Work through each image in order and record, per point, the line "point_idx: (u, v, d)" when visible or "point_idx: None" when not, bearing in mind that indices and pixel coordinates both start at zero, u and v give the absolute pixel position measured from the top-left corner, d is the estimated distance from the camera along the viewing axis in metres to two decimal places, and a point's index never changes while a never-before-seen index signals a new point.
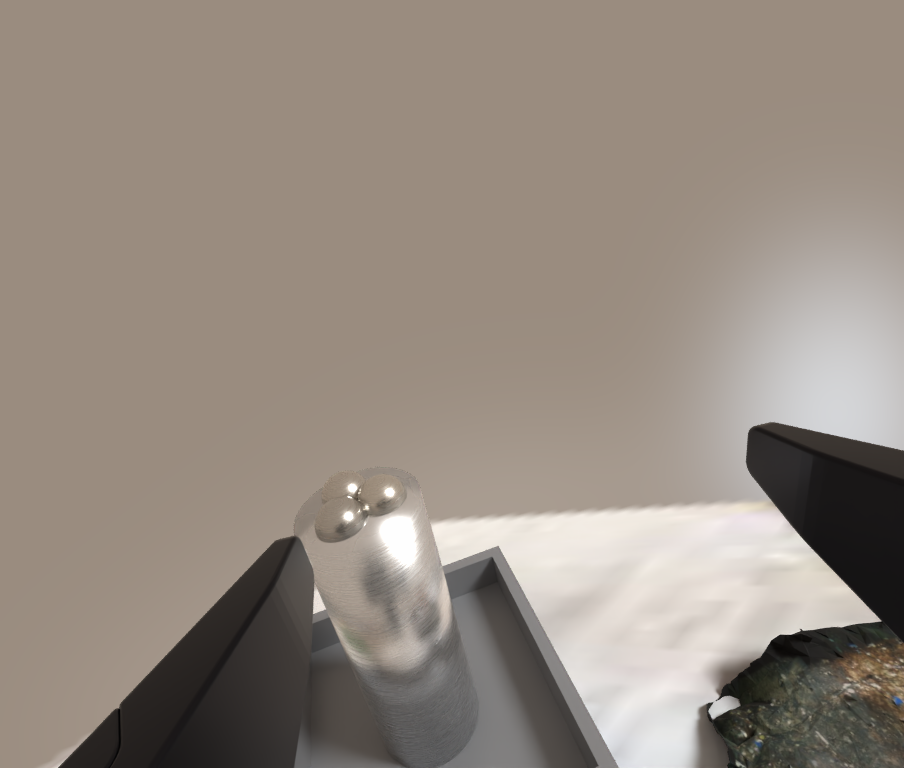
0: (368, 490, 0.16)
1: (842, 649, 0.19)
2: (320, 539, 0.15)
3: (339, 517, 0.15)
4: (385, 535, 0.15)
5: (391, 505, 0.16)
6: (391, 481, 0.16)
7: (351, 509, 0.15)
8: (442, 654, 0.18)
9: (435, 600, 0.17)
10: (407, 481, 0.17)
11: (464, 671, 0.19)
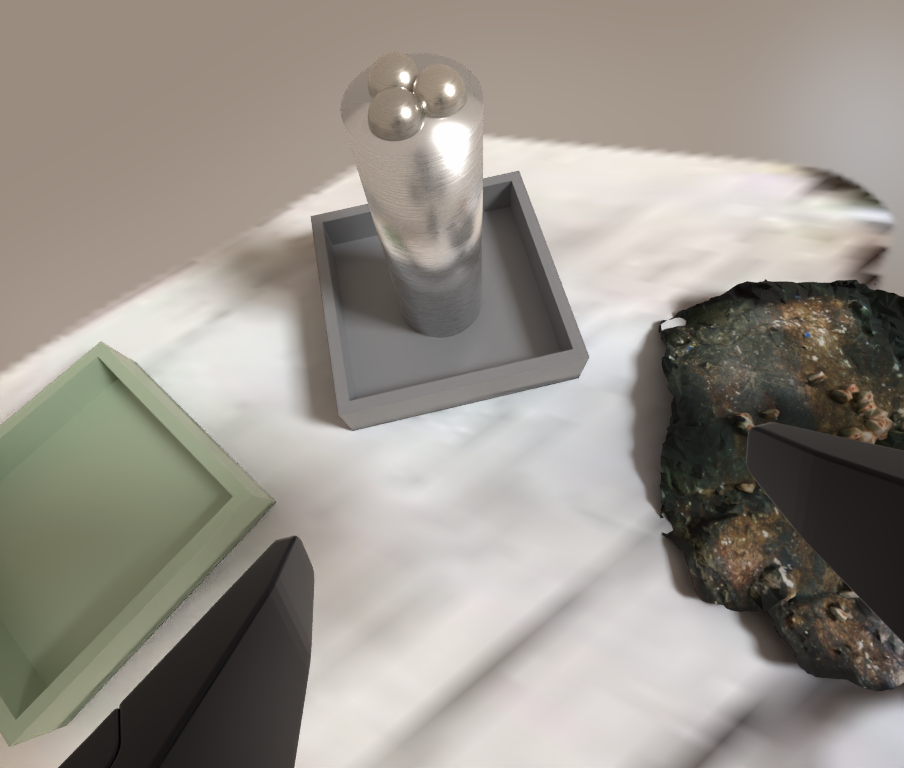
0: (428, 84, 0.14)
1: (788, 298, 0.23)
2: (375, 135, 0.14)
3: (398, 112, 0.14)
4: (447, 142, 0.14)
5: (452, 107, 0.14)
6: (454, 76, 0.14)
7: (410, 105, 0.14)
8: (469, 260, 0.20)
9: (474, 214, 0.18)
10: (466, 79, 0.15)
11: (480, 276, 0.23)
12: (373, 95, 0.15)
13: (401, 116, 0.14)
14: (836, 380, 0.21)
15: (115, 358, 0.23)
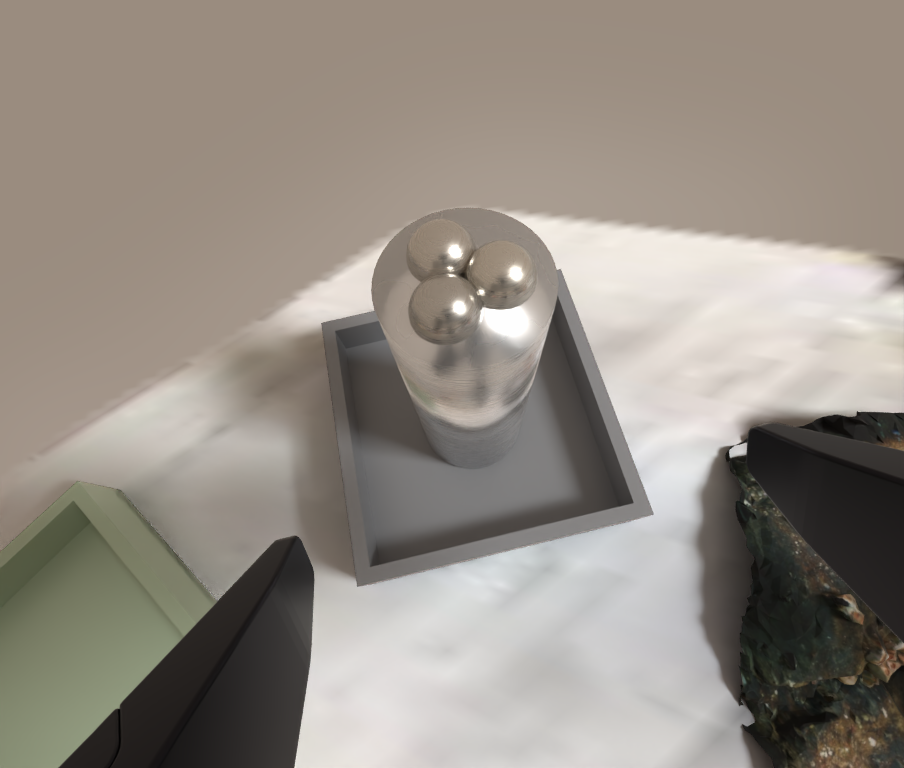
0: (490, 272, 0.11)
1: (885, 435, 0.20)
2: (419, 334, 0.11)
3: (451, 315, 0.10)
4: (514, 348, 0.11)
5: (520, 298, 0.11)
6: (524, 261, 0.11)
7: (468, 304, 0.10)
8: (517, 416, 0.17)
9: (530, 383, 0.14)
10: (534, 249, 0.12)
11: None
12: (414, 273, 0.11)
13: (455, 320, 0.10)
14: None
15: (94, 503, 0.20)
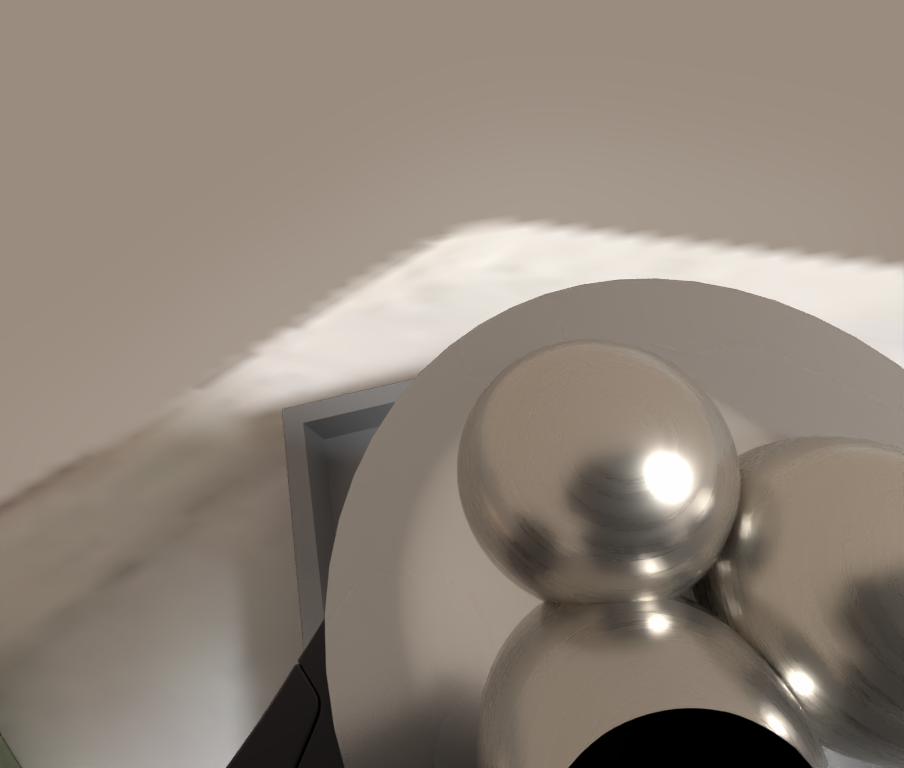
0: None
1: None
2: None
3: None
4: None
5: None
6: None
7: None
8: None
9: None
10: None
11: None
12: (492, 559, 0.03)
13: None
14: None
15: None
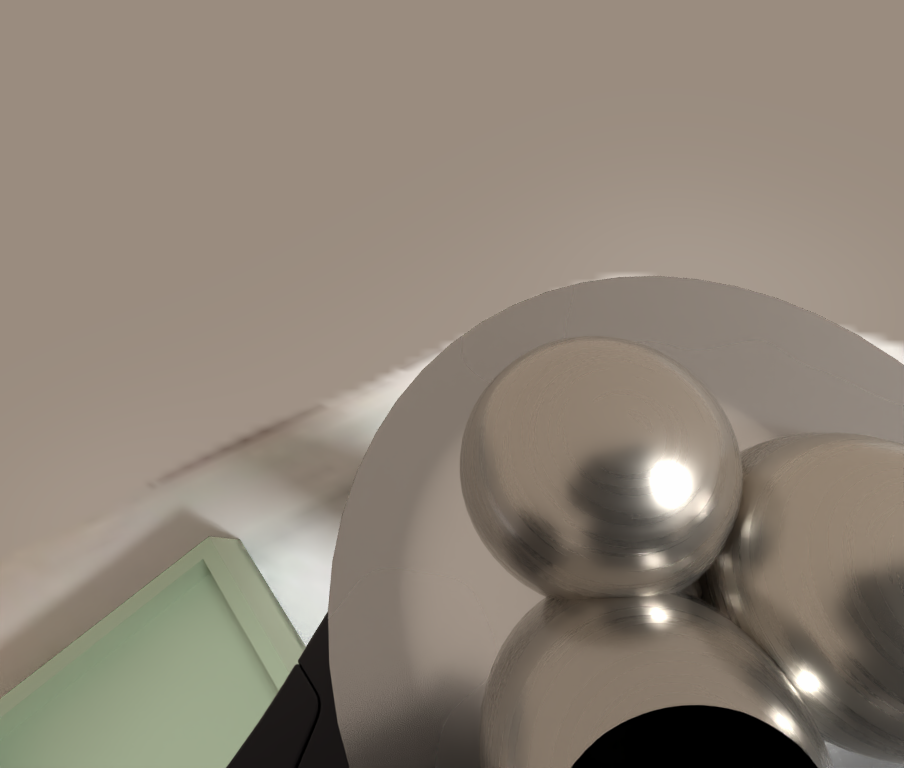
0: None
1: None
2: None
3: None
4: None
5: None
6: None
7: None
8: None
9: None
10: None
11: None
12: (495, 554, 0.03)
13: None
14: None
15: (224, 567, 0.18)
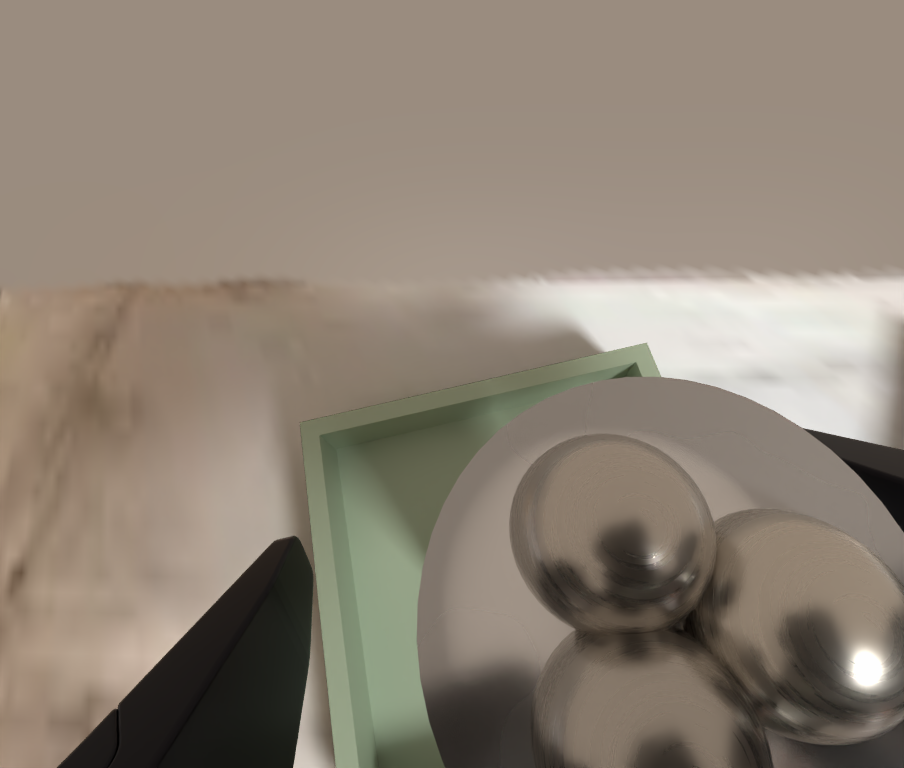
0: (821, 683, 0.03)
1: None
2: None
3: None
4: None
5: None
6: None
7: None
8: None
9: None
10: (855, 518, 0.04)
11: None
12: (539, 599, 0.04)
13: None
14: None
15: None
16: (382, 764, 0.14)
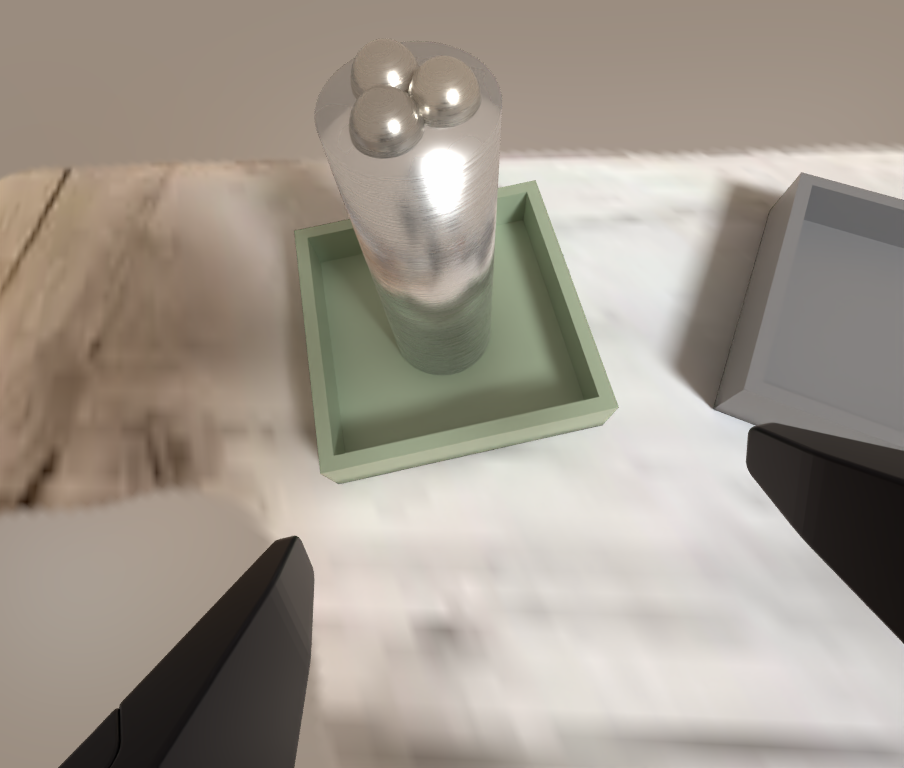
0: (429, 82, 0.10)
1: None
2: (359, 149, 0.11)
3: (389, 121, 0.10)
4: (454, 160, 0.11)
5: (461, 113, 0.11)
6: (464, 72, 0.11)
7: (405, 110, 0.10)
8: (478, 296, 0.17)
9: (486, 244, 0.14)
10: (480, 76, 0.11)
11: (489, 309, 0.19)
12: (357, 96, 0.11)
13: (392, 126, 0.10)
14: None
15: (542, 203, 0.22)
16: (346, 439, 0.21)
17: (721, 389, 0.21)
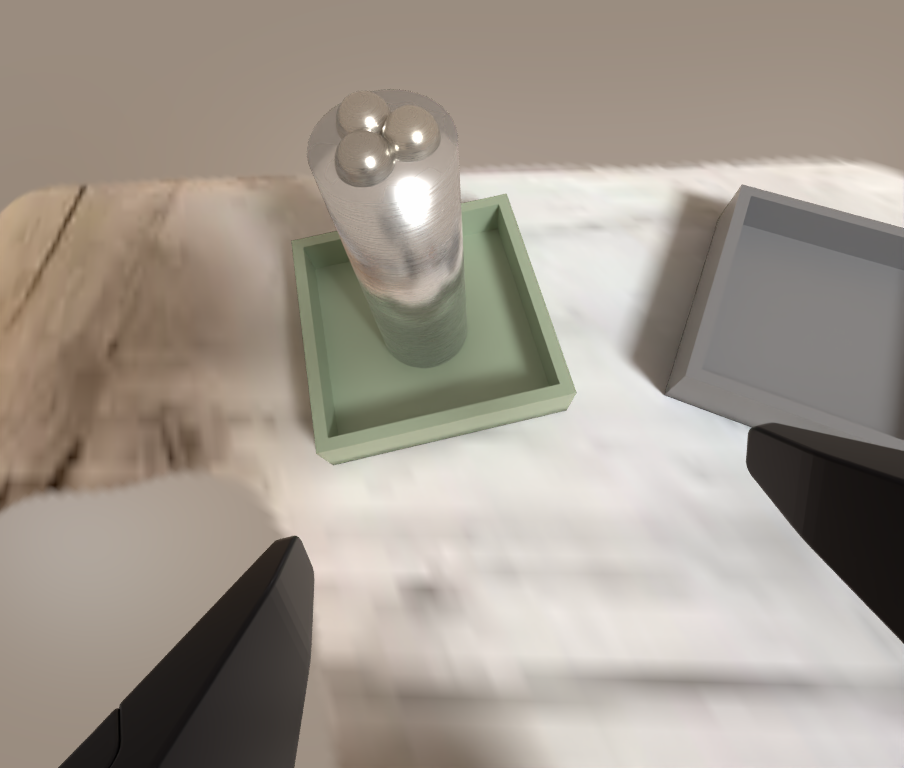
0: (397, 127, 0.13)
1: None
2: (343, 180, 0.14)
3: (365, 158, 0.13)
4: (418, 188, 0.13)
5: (424, 150, 0.13)
6: (425, 118, 0.13)
7: (379, 150, 0.13)
8: (450, 296, 0.19)
9: (453, 253, 0.17)
10: (440, 118, 0.14)
11: (463, 308, 0.22)
12: (341, 136, 0.14)
13: (368, 162, 0.13)
14: None
15: (512, 214, 0.25)
16: (339, 425, 0.23)
17: (671, 377, 0.24)
